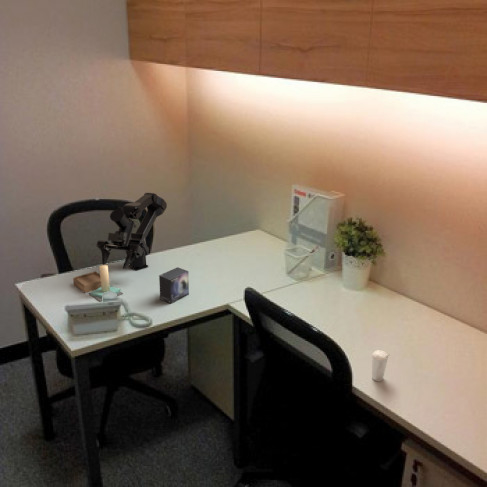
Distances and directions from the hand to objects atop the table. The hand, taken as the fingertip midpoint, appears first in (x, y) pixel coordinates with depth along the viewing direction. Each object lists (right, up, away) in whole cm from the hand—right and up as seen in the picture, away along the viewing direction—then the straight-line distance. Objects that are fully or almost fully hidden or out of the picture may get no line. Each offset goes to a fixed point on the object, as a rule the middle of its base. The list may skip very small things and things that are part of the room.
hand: (113, 267), depth 219 cm
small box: (+25, -12, -6) cm, 29 cm away
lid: (-2, -10, -4) cm, 11 cm away
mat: (-2, -10, -4) cm, 11 cm away
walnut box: (-10, -8, +3) cm, 13 cm away
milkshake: (+93, -31, -55) cm, 113 cm away
